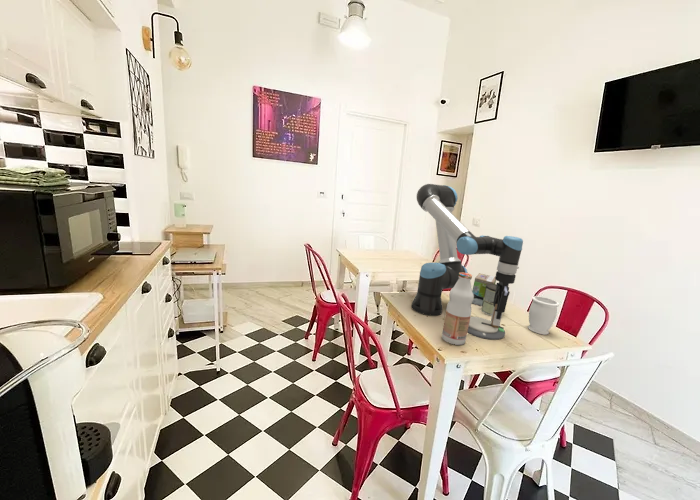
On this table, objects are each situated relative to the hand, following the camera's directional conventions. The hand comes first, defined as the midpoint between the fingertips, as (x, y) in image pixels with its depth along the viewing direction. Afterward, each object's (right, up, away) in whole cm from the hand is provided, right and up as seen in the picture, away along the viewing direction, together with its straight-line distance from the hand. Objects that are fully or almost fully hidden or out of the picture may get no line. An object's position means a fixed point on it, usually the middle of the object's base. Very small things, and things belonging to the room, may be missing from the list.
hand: (495, 323), depth 136 cm
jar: (+23, -5, +7) cm, 25 cm away
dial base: (-5, -3, +3) cm, 7 cm away
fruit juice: (-22, -4, -11) cm, 25 cm away
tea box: (+10, +3, +38) cm, 40 cm away
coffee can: (+9, 0, +24) cm, 25 cm away
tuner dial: (-4, -2, +2) cm, 5 cm away
